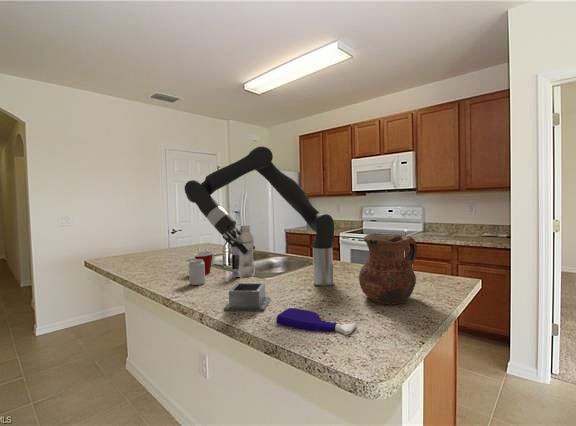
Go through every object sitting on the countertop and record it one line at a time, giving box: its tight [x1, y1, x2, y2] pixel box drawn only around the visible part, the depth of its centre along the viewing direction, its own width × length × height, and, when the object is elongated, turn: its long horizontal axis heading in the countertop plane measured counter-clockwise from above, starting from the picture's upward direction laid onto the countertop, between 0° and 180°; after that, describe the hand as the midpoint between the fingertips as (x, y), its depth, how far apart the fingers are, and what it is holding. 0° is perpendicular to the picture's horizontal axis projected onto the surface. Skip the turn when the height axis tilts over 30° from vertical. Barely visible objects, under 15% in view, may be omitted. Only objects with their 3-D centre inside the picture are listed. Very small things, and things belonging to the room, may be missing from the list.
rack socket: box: [223, 282, 271, 312], centre depth 117 cm, size 15×13×7 cm
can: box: [188, 258, 206, 286], centre depth 149 cm, size 8×8×12 cm
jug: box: [358, 233, 418, 305], centre depth 119 cm, size 22×21×25 cm
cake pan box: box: [231, 246, 241, 278], centre depth 167 cm, size 19×5×18 cm, turn 168°
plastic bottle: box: [238, 225, 256, 279], centre depth 116 cm, size 6×7×20 cm
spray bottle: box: [276, 307, 357, 336], centre depth 97 cm, size 3×11×24 cm
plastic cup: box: [193, 250, 214, 275], centre depth 171 cm, size 11×11×12 cm
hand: (250, 251), depth 116 cm, fingers closed on plastic bottle, 6 cm apart
